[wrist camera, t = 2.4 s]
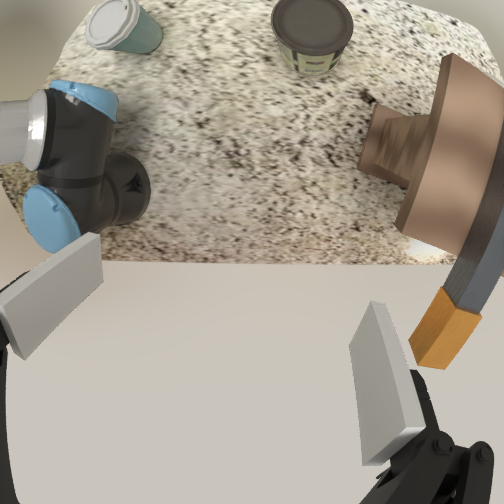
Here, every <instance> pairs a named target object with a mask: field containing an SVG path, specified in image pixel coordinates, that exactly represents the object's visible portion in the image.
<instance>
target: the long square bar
mask: <svg viewBox="0 0 504 504" xmlns="http://www.w3.org/2000/svg"><path fill="white" fill-rule="evenodd" d="M503 270H504V119H503V124H502V129H501V133H500V138H499V142H498V146H497V150H496V154H495V158H494V162H493V165H492V169H491V172H490V176H489V179H488V182H487V185H486V188H485V191H484V194H483V197H482V200H481V203H480V205H479V208H478V211H477V213H476V216H475V218H474V221H473V223H472V226H471V228H470V231H469V233H468V235H467V238H466V240H465V242H464V244H463V247H462V249H461V251H460V253H459V255H458V257H457V259H456V262H455V264H454V266H453V268H452V270H451V272H450V274H449V275H448V278H447V279H446V282H445V283H444V285H443V287H442V286H441V287H440V289H439V291H438V293H437V294H436V296H435V298H434V300H433V302H432V303H431V305H430V306H429V308H428V310H427V311H426V313H425V315H424V316H423V318H422V320H421V321H420V323H419V325H418V326H417V328H416V329H415V331H414V332H413V334H412V335H411V337H410V338H409V340H408V341H409V343H410V346H411V348H412V351H413V354H414V357H415V360H416V363H417V365H418V366H424V367H430V368H436V369H443V370H445V369H446V367H447V366H448V365H449V364H450V362H451V361H452V360H453V358H454V357H455V355H456V354H457V353H458V352H459V350H460V349H461V348H462V346H463V345H464V344H465V342H466V341H467V339H468V338H469V336H470V335H471V333H472V332H473V331H474V329H475V327H476V326H477V325H478V323H479V321H480V320H481V318H482V316H481V314H480V311H481V310H482V308H483V306H484V305H485V303H486V301H487V299H488V298H489V296H490V294H491V292H492V290H493V289H494V287H495V285H496V283H497V281H498V279H499V277H500V276H501V274H502V272H503Z"/></svg>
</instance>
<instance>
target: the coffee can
mask: <svg viewBox="0 0 504 504" xmlns="http://www.w3.org/2000/svg"><path fill="white" fill-rule="evenodd" d="M271 26H272V29H273V31H274V33H275V35H276V38H277V41H278V44H279V47H280V50H281V55H282V57H283V59H284V61H285V63H286V64H287V65H288V66H289V67H290V68H291V69H293V70H294V71H296V72H298V73H300V74H304V75H309V76H317V75H322V74H325V73H328V72H329V71H331V70H332V69H333V68H334V67H335V66H336V65H337V63H338V62H339V59H340V56H341V54H342V52H343V50H344V48H345V46H346V44H347V43H348V42H349V40H350V39H351V36H352V33H353V19H352V16H351V14H350V12H349V11H348V9H347V8H346V7H345V6H344V5H343V4H342V3H341V2H340V1H339V0H279V1H278V3H277V4H276V5H275V7H274V8H273V11H272V14H271Z"/></svg>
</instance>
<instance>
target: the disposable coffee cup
mask: <svg viewBox="0 0 504 504" xmlns="http://www.w3.org/2000/svg"><path fill="white" fill-rule="evenodd" d="M162 36H163V32H162V30H161V28H160V26H159V25H158V24H157V23H156V22H155V20H154V19H153V18H152V17H151V16H150V15H149V14H148V13H147V12H146V11H145V10H144V9H143V8H142V7H141V6H140V5H139V3H138V1H137V0H104V1H102V2H101V3H100V4H99V5H98V6H97V7H96V8H95V9H94V11H93V12H92V14H91V15H90V17H89V18H88V21H87V25H86V28H85V37H86V40H87V44H89V45H90V46H92V47H94V48H96V49H97V50H114V51H124V52H132V53H148V52H151V51H152V50H154V49H156V48H157V47H158V45H159V44H160V43H161V41H162Z"/></svg>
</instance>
